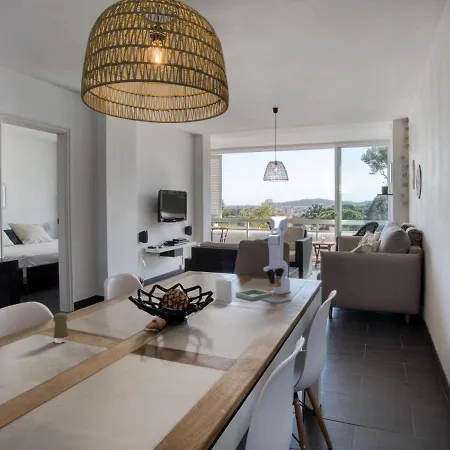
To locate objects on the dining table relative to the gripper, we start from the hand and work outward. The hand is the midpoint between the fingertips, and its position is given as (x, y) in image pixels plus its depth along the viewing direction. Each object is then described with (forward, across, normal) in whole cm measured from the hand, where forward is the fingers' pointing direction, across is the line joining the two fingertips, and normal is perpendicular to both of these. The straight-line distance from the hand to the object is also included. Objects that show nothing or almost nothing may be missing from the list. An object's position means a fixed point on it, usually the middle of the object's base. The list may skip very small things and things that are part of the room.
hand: (275, 283), depth 208 cm
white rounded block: (+10, -20, +19) cm, 29 cm away
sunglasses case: (+10, -67, +4) cm, 67 cm away
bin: (+9, -3, +14) cm, 17 cm away
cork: (+10, -105, +11) cm, 106 cm away
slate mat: (+9, 0, 0) cm, 9 cm away
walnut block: (+2, 0, 0) cm, 2 cm away
